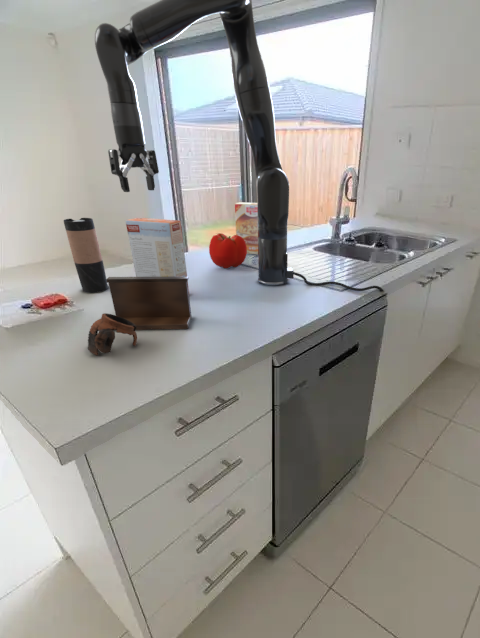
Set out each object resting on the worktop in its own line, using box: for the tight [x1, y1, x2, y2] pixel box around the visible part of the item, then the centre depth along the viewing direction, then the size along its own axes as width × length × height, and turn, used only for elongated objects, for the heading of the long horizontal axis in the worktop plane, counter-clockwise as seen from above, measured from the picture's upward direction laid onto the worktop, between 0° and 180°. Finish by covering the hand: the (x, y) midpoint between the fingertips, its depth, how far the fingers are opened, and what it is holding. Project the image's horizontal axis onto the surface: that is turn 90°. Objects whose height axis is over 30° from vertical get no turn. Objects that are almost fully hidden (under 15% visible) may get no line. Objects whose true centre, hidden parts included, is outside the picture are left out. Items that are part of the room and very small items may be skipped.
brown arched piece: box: [87, 313, 138, 356], centre depth 78 cm, size 12×10×8 cm
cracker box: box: [125, 217, 190, 292], centre depth 105 cm, size 14×6×21 cm, turn 71°
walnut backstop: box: [106, 275, 193, 331], centre depth 88 cm, size 19×7×11 cm, turn 94°
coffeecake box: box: [234, 201, 258, 256], centre depth 154 cm, size 15×7×20 cm, turn 80°
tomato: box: [208, 232, 248, 270], centre depth 136 cm, size 13×14×12 cm
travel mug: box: [63, 217, 109, 294], centre depth 109 cm, size 8×8×20 cm
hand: (139, 191), depth 109 cm, fingers open, 8 cm apart
